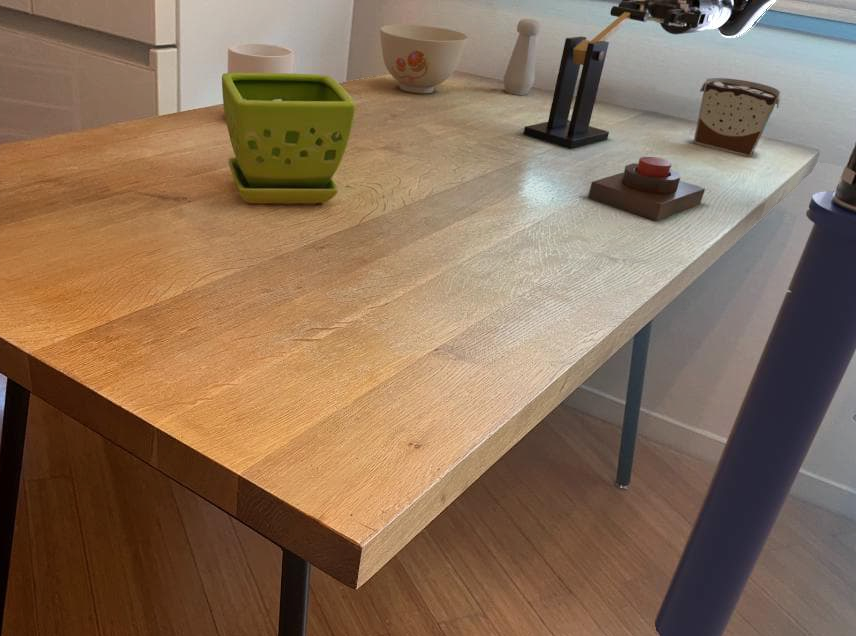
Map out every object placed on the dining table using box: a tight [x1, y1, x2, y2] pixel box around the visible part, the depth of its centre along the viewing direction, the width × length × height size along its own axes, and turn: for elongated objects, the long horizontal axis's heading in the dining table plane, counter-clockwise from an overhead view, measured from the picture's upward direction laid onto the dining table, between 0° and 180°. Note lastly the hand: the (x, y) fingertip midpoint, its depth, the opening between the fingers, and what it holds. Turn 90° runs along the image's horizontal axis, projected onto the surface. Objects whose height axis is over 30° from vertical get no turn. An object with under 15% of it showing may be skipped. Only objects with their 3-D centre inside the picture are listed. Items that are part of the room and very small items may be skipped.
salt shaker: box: [503, 18, 542, 96], centre depth 163 cm, size 6×6×13 cm
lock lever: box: [573, 5, 650, 66], centre depth 135 cm, size 14×6×2 cm, turn 133°
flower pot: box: [221, 72, 356, 206], centre depth 104 cm, size 14×14×13 cm
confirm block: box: [587, 163, 706, 222], centre depth 114 cm, size 12×10×4 cm
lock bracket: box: [522, 35, 610, 150], centre depth 137 cm, size 11×9×15 cm
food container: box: [693, 77, 782, 158], centre depth 140 cm, size 12×6×10 cm, turn 49°
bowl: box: [379, 24, 469, 94], centre depth 159 cm, size 16×16×10 cm
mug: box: [227, 42, 297, 101], centre depth 134 cm, size 13×10×10 cm
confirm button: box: [637, 156, 673, 177], centre depth 113 cm, size 4×4×2 cm
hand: (643, 13), depth 140 cm, fingers open, 8 cm apart
